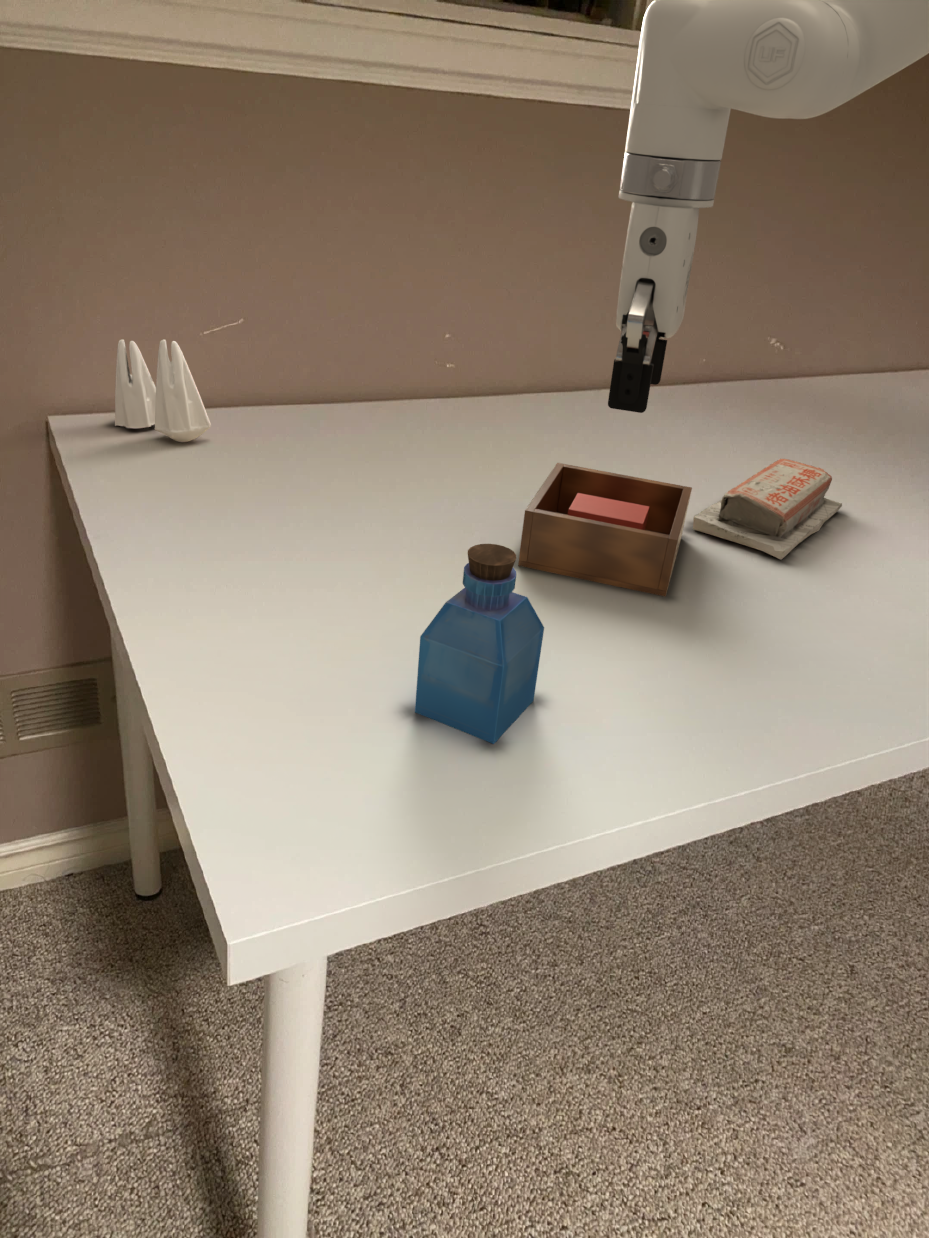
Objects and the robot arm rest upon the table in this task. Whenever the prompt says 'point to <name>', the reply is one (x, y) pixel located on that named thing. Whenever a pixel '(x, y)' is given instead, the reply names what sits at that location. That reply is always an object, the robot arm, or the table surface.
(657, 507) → the holder
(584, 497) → the block
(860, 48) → the robot arm
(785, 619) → the table surface
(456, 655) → the perfume bottle
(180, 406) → the shaker set
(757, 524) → the packaged product
